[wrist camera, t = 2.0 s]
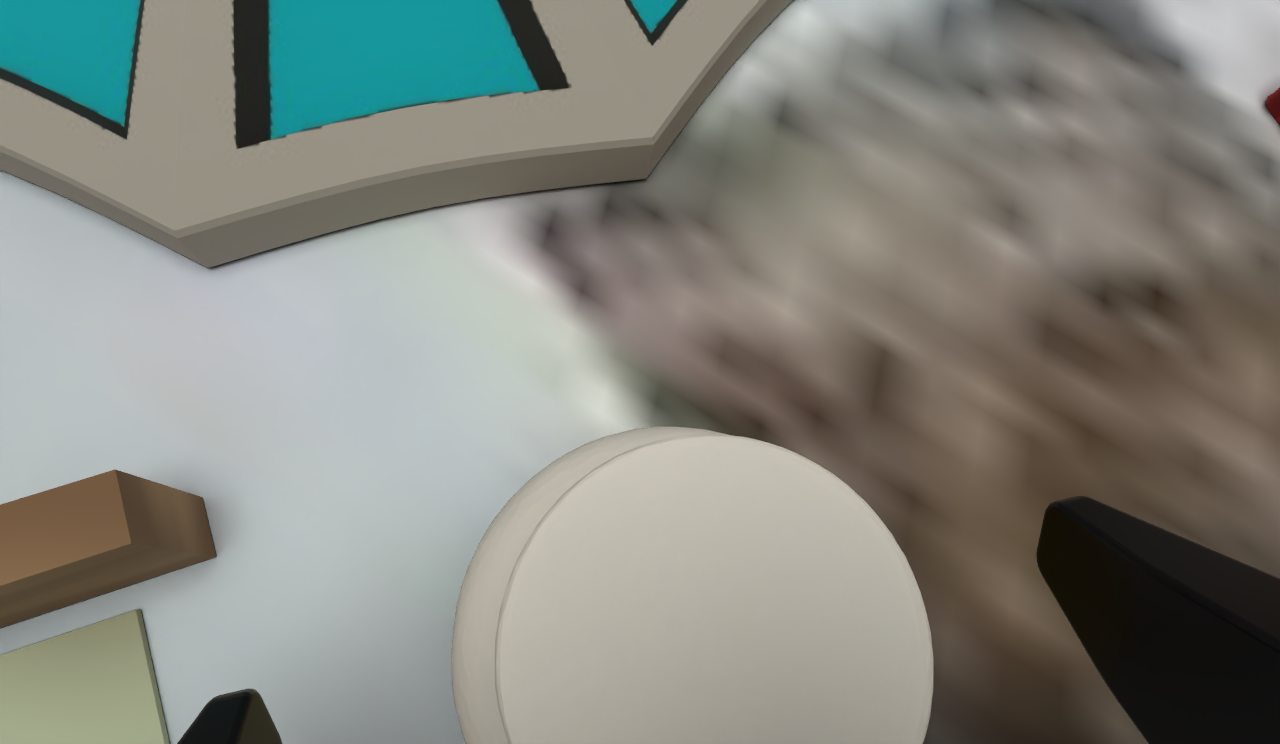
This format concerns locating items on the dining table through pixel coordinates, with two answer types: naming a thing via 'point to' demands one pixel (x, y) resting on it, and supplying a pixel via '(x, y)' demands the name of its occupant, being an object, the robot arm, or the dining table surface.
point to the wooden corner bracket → (77, 571)
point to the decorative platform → (345, 105)
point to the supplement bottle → (690, 604)
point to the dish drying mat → (1274, 104)
